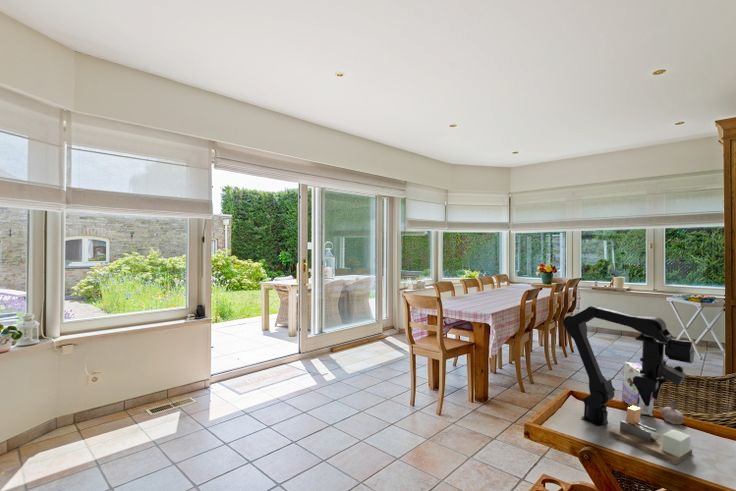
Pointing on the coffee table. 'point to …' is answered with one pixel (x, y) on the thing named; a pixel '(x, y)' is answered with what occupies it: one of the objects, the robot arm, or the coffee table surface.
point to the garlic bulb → (672, 414)
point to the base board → (648, 445)
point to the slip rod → (637, 419)
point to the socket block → (676, 443)
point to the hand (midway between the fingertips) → (651, 402)
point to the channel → (637, 431)
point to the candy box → (634, 389)
